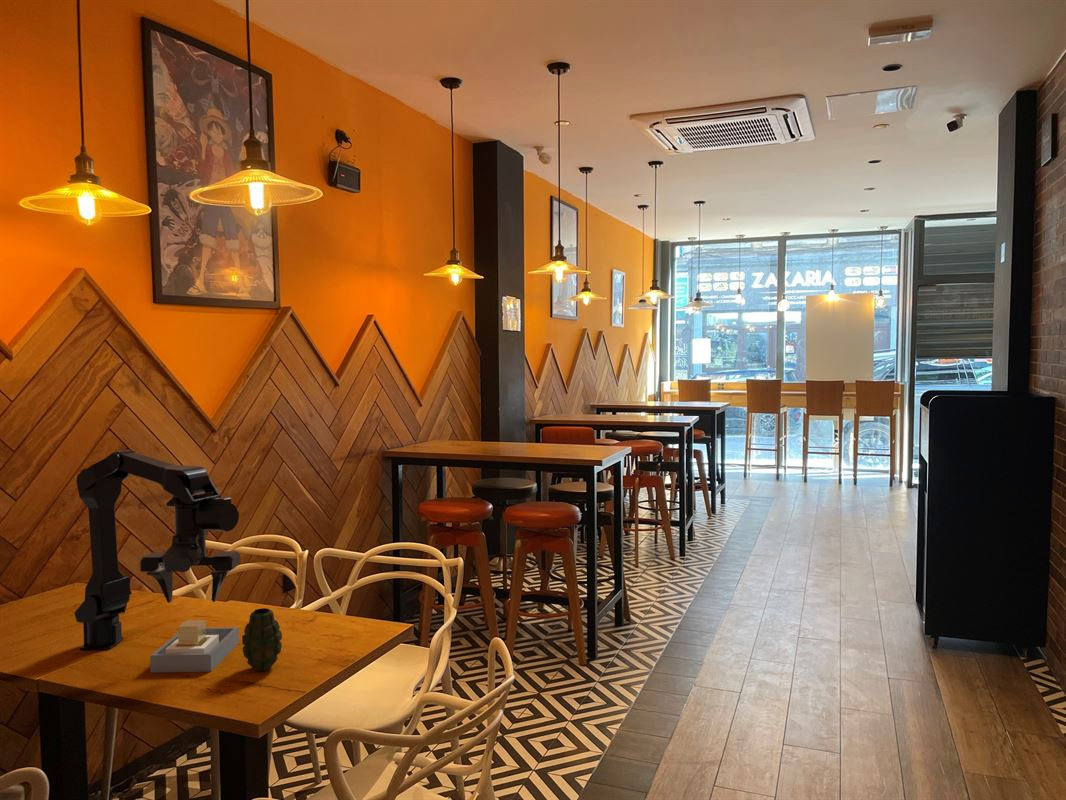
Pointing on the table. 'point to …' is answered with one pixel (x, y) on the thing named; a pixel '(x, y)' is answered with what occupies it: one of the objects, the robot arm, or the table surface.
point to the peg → (192, 633)
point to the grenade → (262, 640)
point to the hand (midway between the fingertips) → (191, 601)
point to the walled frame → (195, 652)
